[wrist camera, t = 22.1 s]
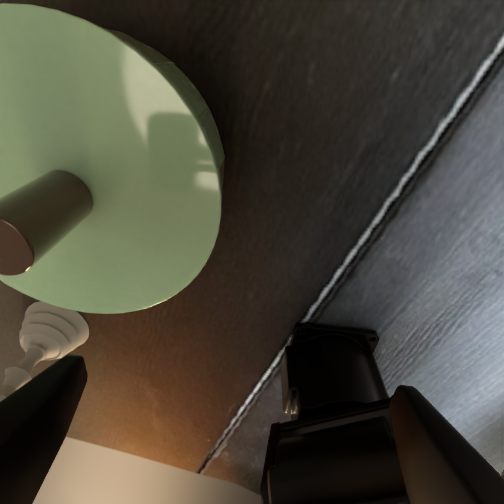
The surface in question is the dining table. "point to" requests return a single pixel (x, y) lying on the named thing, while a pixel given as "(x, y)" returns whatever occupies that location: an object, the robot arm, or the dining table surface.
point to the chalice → (44, 341)
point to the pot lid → (97, 168)
